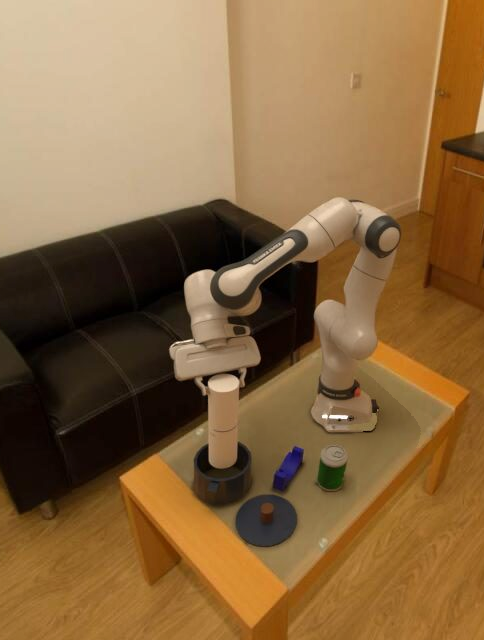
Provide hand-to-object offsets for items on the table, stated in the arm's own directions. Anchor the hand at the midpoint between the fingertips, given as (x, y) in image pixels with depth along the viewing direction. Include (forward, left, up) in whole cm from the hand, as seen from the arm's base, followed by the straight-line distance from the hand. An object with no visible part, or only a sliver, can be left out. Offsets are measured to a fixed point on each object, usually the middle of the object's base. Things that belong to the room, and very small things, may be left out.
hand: (224, 391), depth 118 cm
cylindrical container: (0, -1, -23) cm, 23 cm away
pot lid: (-14, +10, -32) cm, 36 cm away
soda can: (-29, -5, -33) cm, 44 cm away
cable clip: (-16, -6, -33) cm, 37 cm away
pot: (0, 0, -33) cm, 33 cm away
